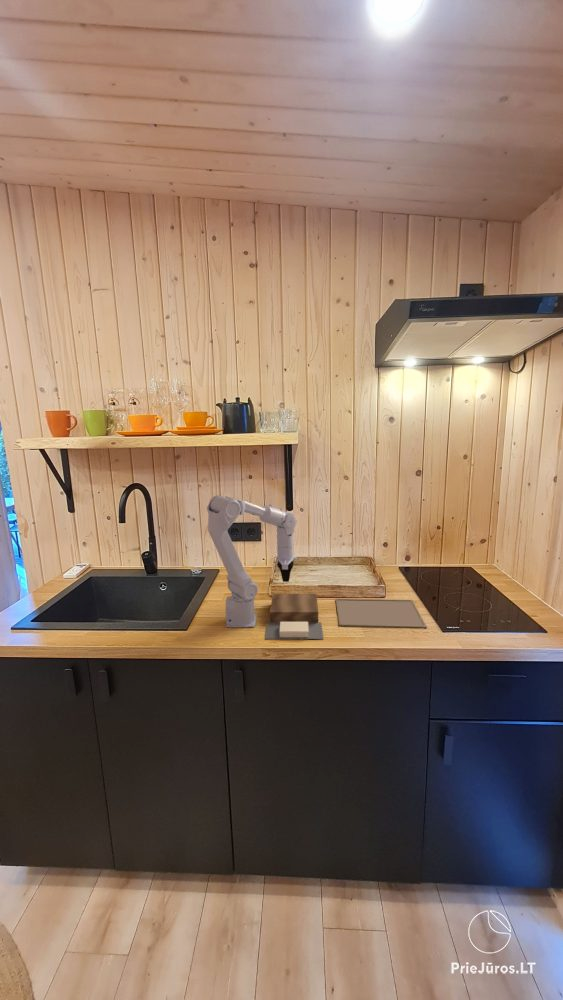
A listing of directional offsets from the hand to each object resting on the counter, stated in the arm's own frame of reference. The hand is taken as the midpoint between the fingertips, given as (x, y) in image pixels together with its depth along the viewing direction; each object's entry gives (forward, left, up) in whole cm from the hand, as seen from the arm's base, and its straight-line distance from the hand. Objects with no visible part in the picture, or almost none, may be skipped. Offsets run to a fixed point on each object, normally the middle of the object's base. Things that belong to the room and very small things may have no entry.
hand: (285, 581), depth 145 cm
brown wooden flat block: (+3, -6, -9) cm, 12 cm away
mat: (+3, -18, -9) cm, 21 cm away
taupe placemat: (+32, -6, -10) cm, 34 cm away
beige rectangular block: (+3, -19, -7) cm, 21 cm away
